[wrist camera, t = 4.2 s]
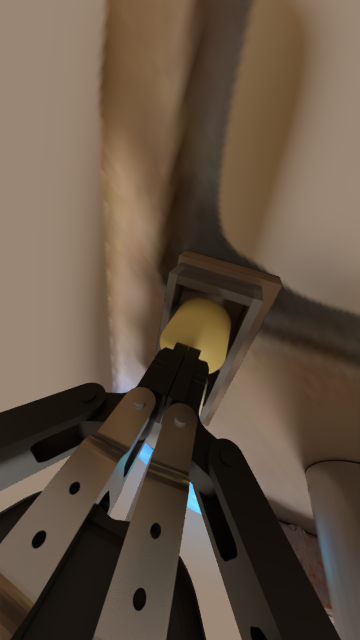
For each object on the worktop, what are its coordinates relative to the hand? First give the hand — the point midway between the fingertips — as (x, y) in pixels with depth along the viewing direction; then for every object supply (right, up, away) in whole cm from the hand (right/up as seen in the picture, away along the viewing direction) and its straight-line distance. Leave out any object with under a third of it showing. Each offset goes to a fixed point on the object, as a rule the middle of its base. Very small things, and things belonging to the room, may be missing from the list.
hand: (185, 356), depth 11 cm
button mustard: (+1, +2, +3) cm, 4 cm away
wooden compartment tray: (+2, -1, +10) cm, 11 cm away
